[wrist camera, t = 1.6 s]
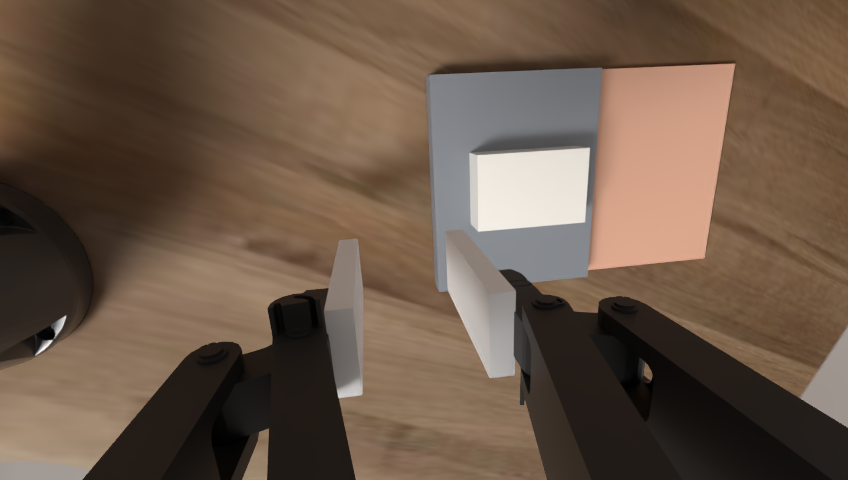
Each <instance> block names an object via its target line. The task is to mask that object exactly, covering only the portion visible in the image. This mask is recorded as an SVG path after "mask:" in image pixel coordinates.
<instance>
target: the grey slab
mask: <svg viewBox="0 0 848 480" xmlns="http://www.w3.org/2000/svg"><path fill="white" fill-rule="evenodd" d="M601 80H602V68H579V69H555V70H531V71H507V72H484V73H460V74H436V75H428V76H427V77H426V93H427V115H428V136H429V158H430V180H431V201H432V223H433V244H434V266H435V284H436V286H437V289H438V291H439V292H444V291H448V287H447V260H446V234H445V231H452V230H464V232H465V233H466V234H467V235H468V236H469V237H470V238H471V240H472V241H473V242H474V243H475V244H476V245H477V247H478V248H479V249H480V250H481V251H482V252H483V253H484V255H485V256H486V257H487V258H488V259H489V260H490V261H491V263H492V264H493V265H494V266H495V267H496V268H497V269H498V270H505V269H512V270H515V271H517V272H519V273H521V274H522V275H523V276H525V277H526V278H527V281H528V280H529V281H530V282H540V281H550V280H560V279H569V278H579V277H588V263H589V249H590V235H591V221H592V207H593V193H594V179H595V165H596V151H597V136H598V122H599V108H600V94H601ZM563 146H580V147H588V148H590V156H589V171H588V186H587V201H586V216H585V222H584V223H572V224H561V225H550V226H538V227H527V228H515V229H504V230H493V231H481V232H478V231H477V230H476V229H475V228H474V227H473V226H472V225H471V213H470V157H469V153H471V152H486V151H502V150H517V149H532V148H548V147H563Z"/></svg>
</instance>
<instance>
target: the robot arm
mask: <svg viewBox="0 0 848 480" xmlns="http://www.w3.org/2000/svg"><path fill="white" fill-rule="evenodd" d="M445 234H446V260H447V287H448V292H449V294H450V296H451V298H452V300H453V302H454V304H455V306H456V308H457V310H458V312H459V315H460V317H461V319H462V321H463V323H464V325H465V327H466V329H467V331H468V333H469V336H470V338H471V340H472V342H473V344H474V346H475V348H476V350H477V352H478V354H479V357H480V359H481V361H482V363H483V365H484V367H485V369H486V371H487V373H488V375H489V378H496V377H504V376H512V375H515V359H516V360H517V362H518V363H519V365H520V367H521V384H520V405H524V400H525V401H526V404H527V408H528V411H529V415H530V419H531V422H532V426H533V430H534V433H535V437H536V441H537V444H538V448H539V452H540V455H541V459H542V463H543V466H544V470H545V473H546V477H547V480H848V428H847V427H846V426H844V425H842V424H841V423H839V422H837V421H836V420H834V419H832V418H831V417H829V416H827V415H826V414H824V413H823V412H821V411H819V410H818V409H816V408H815V407H813V406H811V405H809V404H808V403H806V402H805V401H803V400H801V399H800V398H798V397H797V396H795V395H793V394H792V393H790V392H788V391H787V390H785V389H783V388H782V387H780V386H779V385H777V384H775V383H774V382H772V381H770V380H769V379H767V378H765V377H764V376H762V375H761V374H759V373H757V372H756V371H754V370H752V369H751V368H749V367H748V366H746V365H744V364H743V363H741V362H739V361H738V360H736V359H734V358H733V357H731V356H730V355H728V354H726V353H725V352H723V351H721V350H720V349H718V348H716V347H715V346H713V345H712V344H710V343H708V342H707V341H705V340H703V339H702V338H700V337H699V336H697V335H695V334H694V333H692V332H690V331H689V330H687V329H685V328H684V327H682V326H681V325H679V324H677V323H676V322H674V321H672V320H671V319H669V318H667V317H666V316H664V315H663V314H661V313H659V312H658V311H656V310H654V309H653V308H651V307H650V306H648V305H646V304H644V303H642V302H640V301H638V300H634V299H631V298H629V297H624V298H623V297H622V296H617V297H609V298H605V299H602V300H601V301H600V302H599V307H598V313H588V312H574V311H573V309H572V308H571V306H570V305H569V303H568V302H567V301H565V300H564V299H562V298H560V297H557V296H552V295H543V294H542V293H541V292H540V291H539V290H538V289H537V288H536V287H535V286H534V285H532V283H531V282H530V281H529V280H528V281H527V278H526V277H525V276H523V275H522V274H521V273H519V272H517V271H515V270H512V269H505V270H498V269H497V268H496V267H495V266H494V265H493V264H492V263H491V261H490V260H489V259H488V258H487V257H486V256H485V255H484V253H483V252H482V251H481V250H480V249H479V248H478V247H477V245H476V244H475V243H474V242H473V241H472V240H471V238H470V237H469V236H468V235H467V234H466V233H465V232H464V230H452V231H445ZM91 295H92V274H91V269H90V265H89V261H88V259H87V256H86V254H85V251H84V249H83V247H82V245H81V244H80V242H79V240H78V239H77V237H76V236H75V234H74V233H73V232H72V230H71V229H70V228H69V227H68V226H67V224H66V223H65V222H64V221H63V220H62V219H61V218H60V217H59V216H58V215H56V214H55V213H54V212H53V211H52V210H51V209H49V208H48V207H47V206H45V205H44V204H42V203H41V202H39V201H38V200H36V199H35V198H33V197H31V196H30V195H28V194H26V193H24V192H22V191H20V190H18V189H15V188H13V187H10V186H8V185H5V184H2V183H0V370H2V369H5V368H8V367H11V366H14V365H18V364H20V363H23V362H26V361H28V360H31V359H33V358H35V357H37V356H39V355H40V354H42V353H44V352H45V351H47V350H48V349H50V348H51V347H53V346H54V345H55V344H57V343H58V342H60V341H61V340H62V339H64V338H65V337H66V336H68V335H69V334H70V333H71V332H72V331H73V330H74V329H75V328H76V327H77V326H78V325H79V323H80V322H81V321H82V319H83V317H84V316H85V314H86V312H87V309H88V307H89V304H90V301H91ZM268 314H269V319H270V325H271V330H272V336H273V342H272V345H270V346H268V347H266V348H263V349H260V350H257V351H254V352H250V353H247V354H243V355H242V350H241V347H240V346H239V344H236V343H233V342H219V343H210V344H208V345H204V346H202V347H200V348H199V349H197V350H195V351H193V352H191V353H190V354H189V355H188V356H187V357H186V358H184V360H183V361H182V362H181V363H180V364H179V366H178V367H177V368H176V369H175V370H174V372H173V373H172V374H171V375H170V376H169V378H168V379H167V380H166V381H165V382H164V383H163V385H162V386H161V387H160V388H159V389H158V391H157V392H156V393H155V394H154V395H153V397H152V398H151V399H150V400H149V401H148V402H147V404H146V405H145V406H144V407H143V408H142V410H141V411H140V412H139V413H138V414H137V416H136V417H135V418H134V419H133V420H132V421H131V423H130V424H129V425H128V426H127V427H126V429H125V430H124V431H123V432H122V433H121V435H120V436H119V437H118V438H117V439H116V441H115V442H114V443H113V444H112V445H111V446H110V448H109V449H108V450H107V451H106V452H105V454H104V455H103V456H102V457H101V458H100V460H99V461H98V462H97V463H96V464H95V465H94V467H93V468H92V469H91V470H90V471H89V473H88V474H87V475H86V476H85V477H84V479H83V480H242V478H243V476H244V473H245V471H246V468H247V466H248V463H249V461H250V458H251V456H252V453H253V451H254V448H255V446H256V443H257V441H258V435H259V432H260V431H262V430H265V429H268V428H269V446H268V472H267V480H356V479H355V474H354V470H353V465H352V460H351V455H350V450H349V446H348V441H347V436H346V431H345V427H344V422H343V417H342V412H341V407H340V403H339V398H343V397H351V396H358V395H363V320H364V296H363V286H362V276H361V267H360V257H359V247H358V239H348V240H339V244H338V248H337V253H336V257H335V262H334V267H333V271H332V276H331V280H330V285H329V288H326V289H316V290H306V291H305V292H304V293H301V294H292V295H288V296H284V297H282V298H279V299H277V300H275V301H274V302H272V303H271V304H270V305H269V307H268ZM645 362H646V363H647V364H648V366H649V367H650V369H651V371H652V374H653V377H652V380H651V381H650V380H649V379H647V378H646V377H645V376H644V375H643V374H644V366H645Z"/></svg>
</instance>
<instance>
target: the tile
mask: <svg viewBox="0 0 848 480" xmlns="http://www.w3.org/2000/svg"><path fill="white" fill-rule="evenodd" d="M589 156H590V148H588V147H580V146H563V147H548V148H532V149H517V150H502V151H486V152H471V153H469V157H470V213H471V225H472V226H473V227H474V228H475V229H476V230H477V231H478V232H481V231H493V230H504V229H515V228H527V227H538V226H550V225H561V224H572V223H584V222H585V216H586V201H587V186H588V171H589Z"/></svg>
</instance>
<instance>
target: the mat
mask: <svg viewBox="0 0 848 480" xmlns="http://www.w3.org/2000/svg"><path fill="white" fill-rule="evenodd" d="M734 68H735V64H713V65H690V66H666V67H643V68H619V69H602V80H601V94H600V108H599V122H598V136H597V151H596V165H595V179H594V193H593V207H592V221H591V235H590V249H589V263H588V270H593V269H603V268H613V267H622V266H632V265H642V264H652V263H662V262H671V261H681V260H691V259H701V258H704V257H705V251H706V244H707V238H708V232H709V226H710V219H711V213H712V207H713V200H714V194H715V188H716V181H717V175H718V169H719V163H720V156H721V150H722V144H723V137H724V131H725V125H726V119H727V112H728V106H729V100H730V93H731V87H732V81H733V74H734Z"/></svg>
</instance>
